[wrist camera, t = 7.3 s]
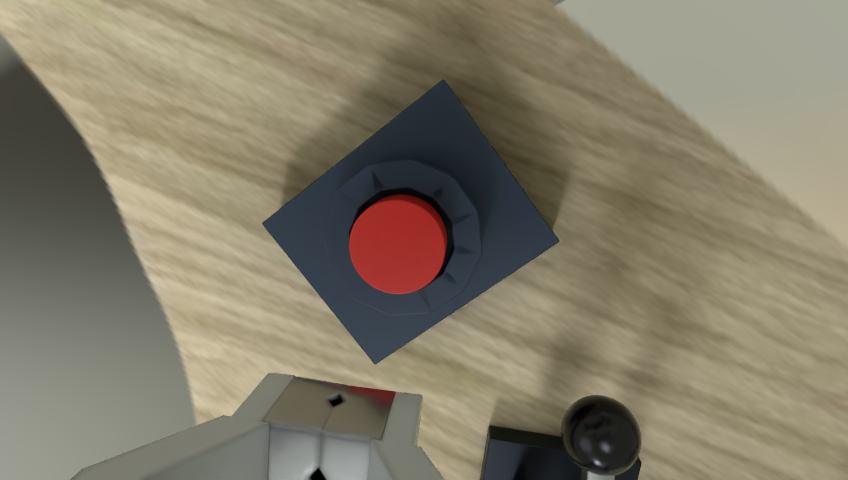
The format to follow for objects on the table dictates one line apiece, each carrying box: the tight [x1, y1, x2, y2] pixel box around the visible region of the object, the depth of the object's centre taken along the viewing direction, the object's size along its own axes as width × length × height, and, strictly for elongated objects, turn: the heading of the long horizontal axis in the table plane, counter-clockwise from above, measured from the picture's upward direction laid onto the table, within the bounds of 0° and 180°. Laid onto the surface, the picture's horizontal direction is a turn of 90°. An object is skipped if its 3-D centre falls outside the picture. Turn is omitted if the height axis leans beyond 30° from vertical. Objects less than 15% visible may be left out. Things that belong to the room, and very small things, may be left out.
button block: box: [262, 80, 559, 364], centre depth 24 cm, size 11×9×4 cm
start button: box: [349, 194, 447, 294], centre depth 21 cm, size 4×4×2 cm
